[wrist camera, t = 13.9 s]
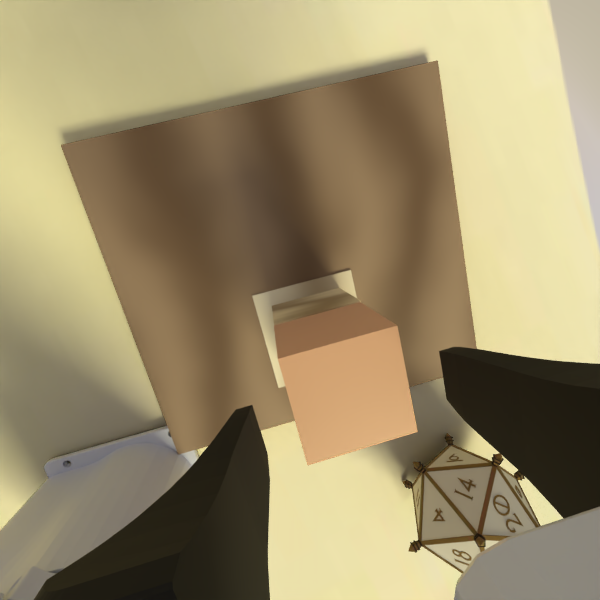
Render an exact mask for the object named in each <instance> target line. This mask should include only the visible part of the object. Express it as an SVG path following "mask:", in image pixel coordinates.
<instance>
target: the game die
mask: <svg viewBox="0 0 600 600" xmlns="http://www.w3.org/2000/svg"><path fill="white" fill-rule="evenodd" d="M452 438H453V437H451V436H450V435H449V434H448V433H447V435H446V437H445V439H446V442H447V443H448V446H447V447H446V448H445V449H444V450H443V451H442V452H441V453H440V454H438V455H437V456H436V457H435V458H434V459H433V460H432V461H431V462H430V463H429V464H428V465H427V466H425V467H423V464H421V463H420V462H413V464H414V468H415V469H416V470H418V471H419V472H420V474H419V475H418V477H417V478H416V480H415V481H414V483H413V484H412V482H410V481H408V480H406V481H403V484H404V485H405V487H406V488H408V489H410V488H412V491H413V499H414V507H415V515H416V524H417V532H418V541H414V542H413V543H411V542H410V543H411V545H410V548H409V551H411V552H415V553H416V552H417V550H420V547H421V546H422V547H424V548H425V549H427V550H428V551H430V552H431V553H433V554H434V555H436V556H437V557H439V558H440V559H442V560H443V561H445V562H446V563H448V564H449V565H451V566H452V567H454V568H455V569H457V570H458V571H460V572H461V573H463V572H464V571H465V570H466V568H467V567H468V566H469V564H470V563H471V562H472V560H473V559H474V557H475V556H476V555H477V554H479V553H480V552H482V551H484V550H486V549H487V548H489V547H491V546H492V545H494V544H496V543H498V542H499V541H501V540H503V539H504V538H507V537H510V536H513V535H516V534H519V533H522V532H525V531H528V530H531V529H534V528H537V527H540V524H539V522H538V520H537V518H536V516H535V514H534V512H533V510H532V508H531V506H530V504H529V502H528V500H527V498H526V496H525V494H524V492H523V490H522V488H521V486H520V484H519V482H518V480H522V479H525V478H524V475H523V474H522V473H521V472H520V471H519V470H518V471H517V472H516V473H514V476H513V475H512V474H510V473H509V472H508V471H506V470H505V469H503V468H502V467H500V466H499V465H500V464H501V462H502V461H503V458H502V455H501V454H493V457H492V461H490V460H488V459H485V458H483V457H481V456H478V455H476V454H474V453H471V452H469V451H467V450H464V449H462V448H460V447H457V446H455V445H453V440H452Z"/></svg>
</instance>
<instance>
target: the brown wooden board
mask: <svg viewBox="0 0 600 600" xmlns="http://www.w3.org/2000/svg"><path fill="white" fill-rule="evenodd" d="M61 147H62V150H63V152H64V155H65V157H66V160H67V163H68V165H69V168H70V171H71V173H72V176H73V179H74V181H75V184H76V186H77V189H78V192H79V194H80V197H81V200H82V202H83V205H84V208H85V210H86V213H87V215H88V218H89V221H90V223H91V226H92V229H93V231H94V234H95V237H96V239H97V242H98V244H99V247H100V250H101V252H102V255H103V258H104V260H105V263H106V266H107V268H108V271H109V273H110V276H111V279H112V281H113V284H114V287H115V289H116V292H117V295H118V297H119V300H120V302H121V305H122V308H123V310H124V313H125V316H126V318H127V321H128V324H129V326H130V329H131V332H132V334H133V337H134V339H135V342H136V345H137V347H138V350H139V353H140V355H141V358H142V361H143V363H144V366H145V368H146V371H147V374H148V376H149V379H150V382H151V384H152V387H153V390H154V392H155V395H156V397H157V400H158V403H159V405H160V408H161V411H162V413H163V416H164V419H165V421H166V424H167V426H168V429H169V432H170V434H171V437H172V440H173V442H174V445H175V448H176V450H177V453H178V455H179V454H182V453H186V452H189V451H192V450H196V449H199V448H203V447H206V446H209V445H210V444H211V442H212V441H213V440H214V438H215V437H216V436H217V434H218V433H219V432H220V430H221V429H222V427H223V426H224V425H225V423H226V422H227V421H228V419H229V418H230V416H231V415H232V414H233V412H234V411H235V410H236V409H239V408H243V407H246V406H250V405H253V409H254V412H255V415H256V418H257V421H258V425H259V428H260V431H261V430H264V429H268V428H271V427H275V426H278V425H281V424H285V423H288V422H292V421H295V419H294V415H293V411H292V408H291V404H290V401H289V397H288V394H287V390H286V387H285V383H284V380H283V376H282V372H281V369H280V365H279V362H278V357H277V349H276V340H275V331H274V320H273V312H272V306H273V305H277V304H280V303H284V302H288V301H292V300H295V299H299V298H303V297H307V296H310V295H314V294H318V293H321V292H325V291H329V290H333V289H336V288H341V289H342V290H344V291H346V292H347V293H349V294H350V295H352V296H354V297H355V298H357V299H359V300H360V301H361V303H363V304H364V305H366V306H367V307H369V308H370V309H372V310H374V311H375V312H377V313H378V314H380V315H382V316H383V317H385V318H386V319H388V320H390V321H391V322H393V323H394V324H396V325H397V326H398V331H399V336H400V342H401V347H402V352H403V357H404V363H405V368H406V373H407V378H408V384H409V387H411V386H415V385H418V384H422V383H425V382H428V381H432V380H435V379H439V378H442V377H443V373H442V367H441V361H440V354H439V351H441V350H444V349H448V348H451V347H466V348H473V349H477V348H476V341H475V333H474V326H473V318H472V311H471V304H470V296H469V289H468V281H467V274H466V267H465V259H464V252H463V244H462V237H461V230H460V222H459V215H458V207H457V200H456V193H455V185H454V178H453V171H452V163H451V156H450V148H449V141H448V134H447V126H446V119H445V111H444V104H443V97H442V89H441V82H440V74H439V67H438V61H433V62H429V63H424V64H420V65H415V66H411V67H407V68H402V69H398V70H393V71H389V72H384V73H380V74H375V75H371V76H366V77H362V78H357V79H353V80H349V81H344V82H340V83H335V84H331V85H326V86H322V87H317V88H313V89H308V90H304V91H299V92H295V93H291V94H286V95H282V96H277V97H273V98H268V99H264V100H259V101H255V102H250V103H246V104H241V105H237V106H233V107H228V108H224V109H219V110H215V111H210V112H206V113H201V114H197V115H192V116H188V117H183V118H179V119H175V120H170V121H166V122H161V123H157V124H152V125H148V126H143V127H139V128H134V129H130V130H125V131H121V132H116V133H112V134H108V135H103V136H99V137H94V138H90V139H85V140H81V141H76V142H72V143H67V144H63V145H61Z"/></svg>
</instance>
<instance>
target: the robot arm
mask: <svg viewBox="0 0 600 600" xmlns="http://www.w3.org/2000/svg"><path fill="white" fill-rule="evenodd" d="M439 354H440V361H441V367H442V373H443V379H444V385H445V391H446V397H447V400H448V401H449V403H450V404H451V405H452V406H453V408H454V409H455V410H456V411H457V413H458V414H459V415H460V416H461V417H462V418H463V419H464V421H466V422H467V423H468V424H469V425H470V426H471V427H472V428H473V429H474V430H475V431H476V432H477V433H478V434H479V435H481V436H482V437H483V438H484V439H485V440H486V441H487V442H488V443H489V444H491V445H492V446H493V447H494V448H495V449H496V450H497V451H498V452H499V453H500V454H502V455H503V456H504V457H505V458H506V459H507V460H508V461H509V462H510V463H512V464H513V465H514V466H515V467H516V468H517V469H518V470H519V471H520V472H521V473H522V474H523V475H524V476H525V477H526V478H527V479H528V480H529V481H530V482H531V483H532V484H533V485H534V486H535V487H536V488H537V489H538V490H539V492H540V493H541V494H542V495H543V496H544V497H545V498H546V499H547V500H548V501H549V502H550V503H551V505H552V506H553V507H554V508H555V509H556V510H557V511H558V512H559V514H560V515H561V516H562V517H563V518H564V519H561V520H558V521H555V522H552V523H549V524H546V525H543V526H540V527H537V528H534V529H531V530H528V531H525V532H522V533H519V534H516V535H513V536H510V537H507V538H504V539H503V540H501V541H499V542H498V543H496V544H494V545H492V546H491V547H489V548H487V549H486V550H484V551H482V552H480V553H479V554H477V555H476V556H475V557H474V559H473V560H472V562H471V563H470V564H469V566H468V567H467V568H466V570H465V571H464V572H463V574H462V575H461V577H460V578H459V579H458V581H457V585H456V590H455V597H454V600H600V364H590V363H576V362H562V361H552V360H544V359H536V358H528V357H522V356H515V355H509V354H503V353H497V352H491V351H485V350H479V349H473V348H466V347H451V348H448V349H444V350H441V351H439ZM67 460H68V461H70V462H71V463H68V462H67ZM44 470H45V472H46V474H47V476H48V479H47V480H46V481H45V482H44V483H43V484H42V485H41V486H40V487H39V489H38V490H37V491H36V492H35V493H34V494H33V495H32V496H31V497H30V498H29V500H28V501H27V502H26V503H25V504H24V505H23V506H22V507H21V508H20V509H19V510H18V512H17V513H16V514H15V515H14V516H13V517H12V518H11V519H10V520H9V521H8V523H7V524H6V525H5V526H4V527H3V528H2V529H1V530H0V600H270V593H269V576H268V522H269V490H270V477H269V465H268V455H267V451H266V447H265V444H264V441H263V438H262V434H261V431H260V428H259V425H258V421H257V418H256V415H255V412H254V409H253V405H250V406H246V407H243V408H239V409H236V410H235V411H234V412H233V414H232V415H231V416H230V418H229V419H228V421H227V422H226V423H225V425H224V426H223V427H222V429H221V430H220V432H219V433H218V434H217V436H216V437H215V438H214V440H213V441H212V442H211V444H210V445H209V446H208V447H207V448H206V450H205V451H204V452H203V453H202V454H201V456H200V457H199V456H198V454H197V451H196V450H192V451H189V452H186V453H182V454H179V455H178V453H177V450H176V448H175V445H174V442H173V440H172V437H171V434H170V432H169V429H168V426H164V427H160V428H157V429H153V430H150V431H146V432H143V433H139V434H136V435H132V436H129V437H125V438H122V439H118V440H115V441H111V442H108V443H104V444H101V445H97V446H94V447H91V448H87V449H84V450H80V451H77V452H73V453H70V454H66V455H63V456H59V457H56V458H52V459H50V460H49V461H48V462H47V463H46V464H45V465H44Z"/></svg>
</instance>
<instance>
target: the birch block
mask: <svg viewBox="0 0 600 600" xmlns="http://www.w3.org/2000/svg"><path fill="white" fill-rule="evenodd" d="M358 302H361V301H360V300H359V299H357V298H355V297H354V296H352V295H350V294H349V293H347V292H346V291H344V290H342V289H341V288H336V289H333V290H329V291H325V292H321V293H318V294H314V295H310V296H307V297H303V298H299V299H295V300H292V301H288V302H284V303H280V304H277V305H273V306H272V312H273V320H274V325H278V324H281V323H285V322H289V321H292V320H296V319H300V318H303V317H307V316H311V315H314V314H318V313H322V312H325V311H329V310H333V309H336V308H340V307H344V306H347V305H351V304H355V303H358Z"/></svg>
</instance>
